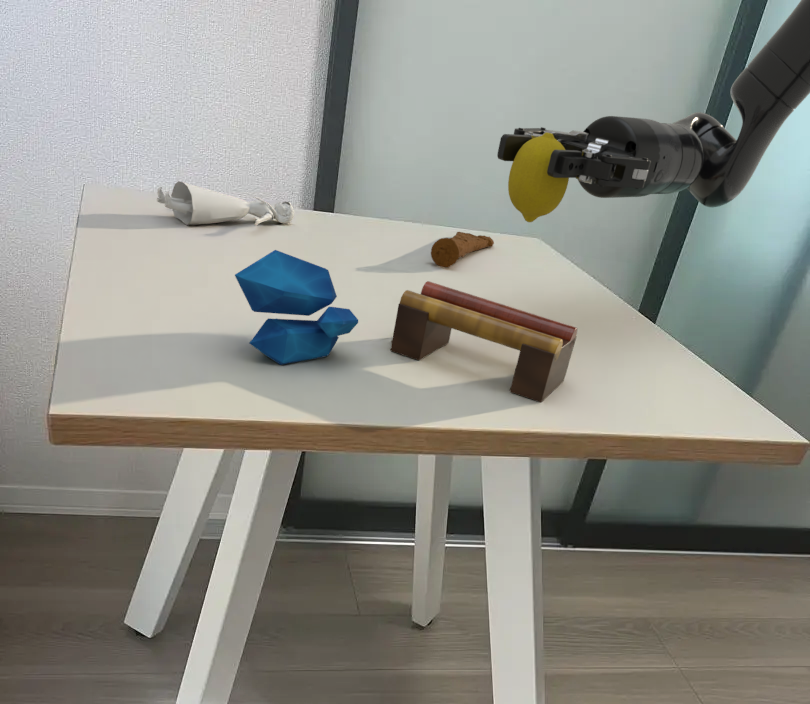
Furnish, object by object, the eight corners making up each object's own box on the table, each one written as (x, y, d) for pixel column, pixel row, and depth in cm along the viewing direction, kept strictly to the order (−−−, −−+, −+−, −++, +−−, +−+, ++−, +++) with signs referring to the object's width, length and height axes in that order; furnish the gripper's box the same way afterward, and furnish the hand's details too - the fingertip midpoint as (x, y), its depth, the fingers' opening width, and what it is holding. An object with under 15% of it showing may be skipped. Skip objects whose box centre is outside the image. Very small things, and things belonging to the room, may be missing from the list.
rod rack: (563, 381, 84) (580, 325, 81) (541, 402, 78) (557, 343, 75) (421, 333, 88) (432, 278, 85) (390, 350, 83) (400, 292, 80)
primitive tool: (457, 235, 127) (463, 210, 125) (494, 244, 126) (500, 219, 125) (426, 264, 111) (432, 236, 109) (468, 275, 110) (475, 247, 108)
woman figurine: (143, 167, 108) (273, 184, 119) (140, 205, 110) (268, 218, 121) (184, 193, 100) (319, 208, 111) (180, 233, 102) (312, 244, 113)
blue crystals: (388, 286, 76) (279, 260, 67) (355, 381, 79) (247, 369, 70) (333, 259, 80) (224, 231, 71) (305, 350, 83) (197, 335, 74)
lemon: (516, 228, 82) (537, 135, 78) (490, 212, 87) (509, 123, 82) (567, 232, 85) (590, 142, 80) (539, 216, 89) (560, 130, 85)
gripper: (583, 103, 94) (477, 93, 83) (701, 135, 86) (602, 128, 75) (564, 178, 98) (461, 178, 87) (676, 215, 90) (578, 220, 79)
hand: (527, 155), depth 81 cm, fingers closed on lemon, 5 cm apart
